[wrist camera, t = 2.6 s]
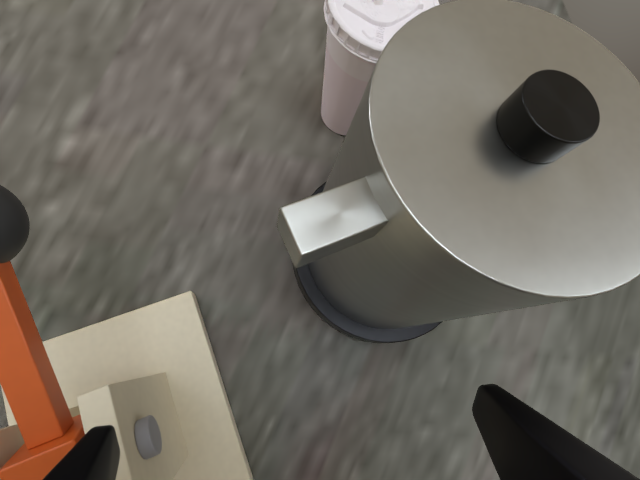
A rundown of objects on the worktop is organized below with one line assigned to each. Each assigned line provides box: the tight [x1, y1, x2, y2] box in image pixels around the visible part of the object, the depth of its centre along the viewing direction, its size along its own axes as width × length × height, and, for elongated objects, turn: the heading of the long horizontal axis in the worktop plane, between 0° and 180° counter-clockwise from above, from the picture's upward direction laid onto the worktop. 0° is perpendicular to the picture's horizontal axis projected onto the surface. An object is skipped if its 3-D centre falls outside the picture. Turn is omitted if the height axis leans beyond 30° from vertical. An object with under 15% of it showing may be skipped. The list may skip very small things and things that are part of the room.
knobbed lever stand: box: [0, 291, 253, 480], centre depth 16 cm, size 12×10×10 cm
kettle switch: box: [0, 185, 85, 480], centre depth 12 cm, size 12×3×3 cm, turn 21°
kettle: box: [277, 0, 640, 343], centre depth 18 cm, size 16×12×16 cm
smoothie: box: [321, 0, 439, 135], centre depth 22 cm, size 6×6×14 cm
